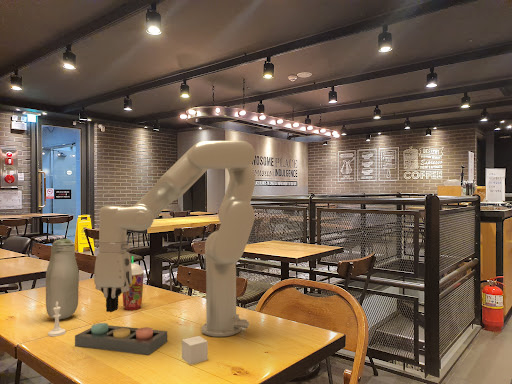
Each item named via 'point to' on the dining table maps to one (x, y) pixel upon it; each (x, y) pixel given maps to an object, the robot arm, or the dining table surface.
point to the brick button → (144, 333)
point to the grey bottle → (62, 279)
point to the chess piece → (56, 323)
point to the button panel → (121, 341)
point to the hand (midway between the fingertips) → (112, 310)
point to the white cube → (194, 350)
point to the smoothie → (134, 289)
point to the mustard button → (121, 333)
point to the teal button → (99, 329)
